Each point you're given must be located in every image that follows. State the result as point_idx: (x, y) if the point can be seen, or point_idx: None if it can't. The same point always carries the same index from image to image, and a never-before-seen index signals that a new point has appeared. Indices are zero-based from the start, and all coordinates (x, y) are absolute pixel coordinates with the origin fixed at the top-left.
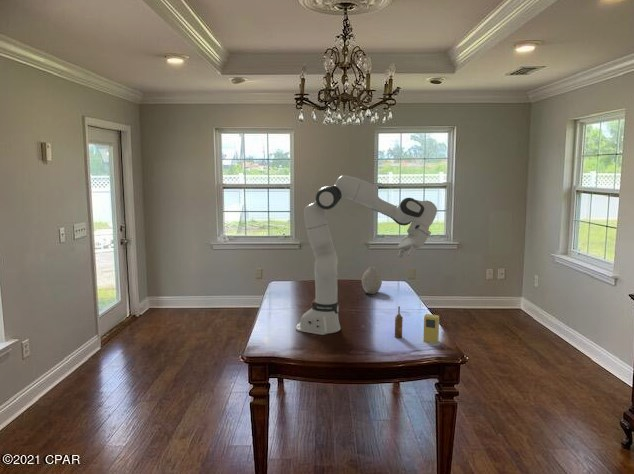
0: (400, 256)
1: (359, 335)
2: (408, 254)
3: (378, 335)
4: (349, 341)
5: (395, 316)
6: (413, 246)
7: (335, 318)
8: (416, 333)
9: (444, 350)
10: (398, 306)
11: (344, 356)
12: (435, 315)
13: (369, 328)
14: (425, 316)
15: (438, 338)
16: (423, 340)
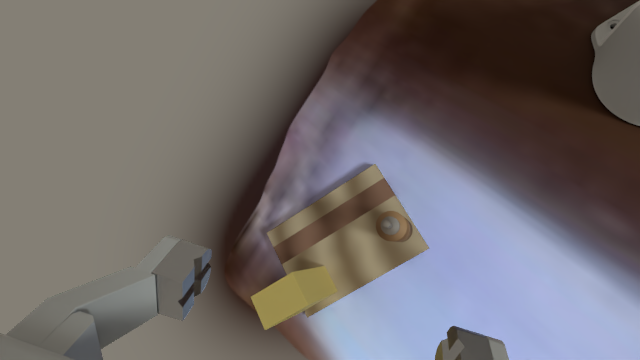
0: (448, 346)
1: (512, 145)
2: (178, 241)
3: (474, 202)
4: (479, 86)
5: (403, 218)
6: (27, 329)
7: (634, 66)
8: (414, 330)
9: (264, 279)
10: (387, 222)
11: (386, 22)
12: (274, 318)
13: (565, 223)
14: (288, 274)
15: (300, 312)
16: (323, 266)
